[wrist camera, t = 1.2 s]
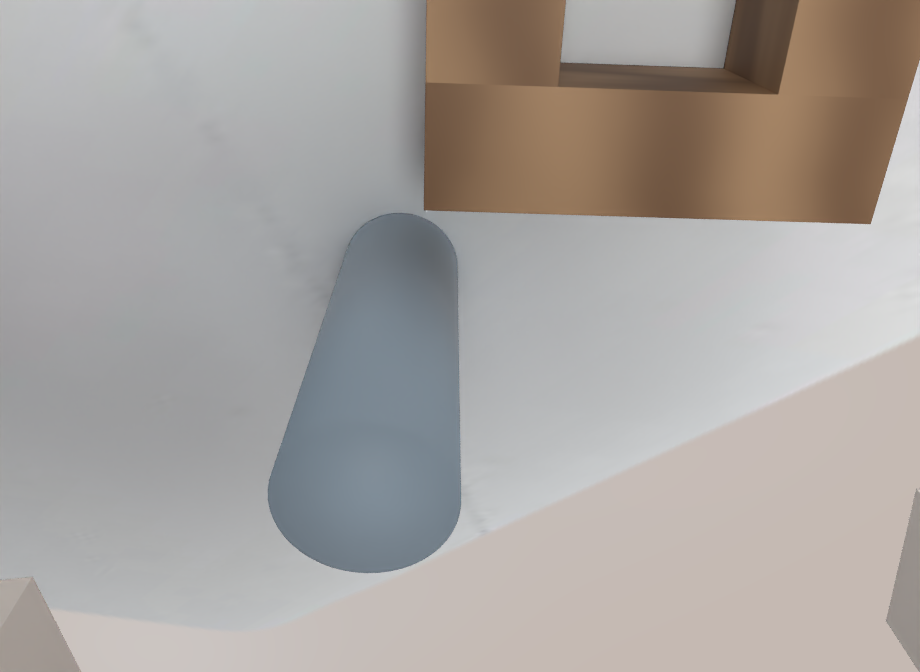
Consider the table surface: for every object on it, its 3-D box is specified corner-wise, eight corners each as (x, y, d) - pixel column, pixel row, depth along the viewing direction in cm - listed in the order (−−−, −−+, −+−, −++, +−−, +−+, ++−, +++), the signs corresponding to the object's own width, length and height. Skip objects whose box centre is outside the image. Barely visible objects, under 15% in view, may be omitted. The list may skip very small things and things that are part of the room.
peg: (346, 315, 31) (275, 570, 18) (342, 211, 29) (259, 418, 16) (455, 318, 31) (457, 574, 18) (459, 214, 29) (464, 423, 16)
